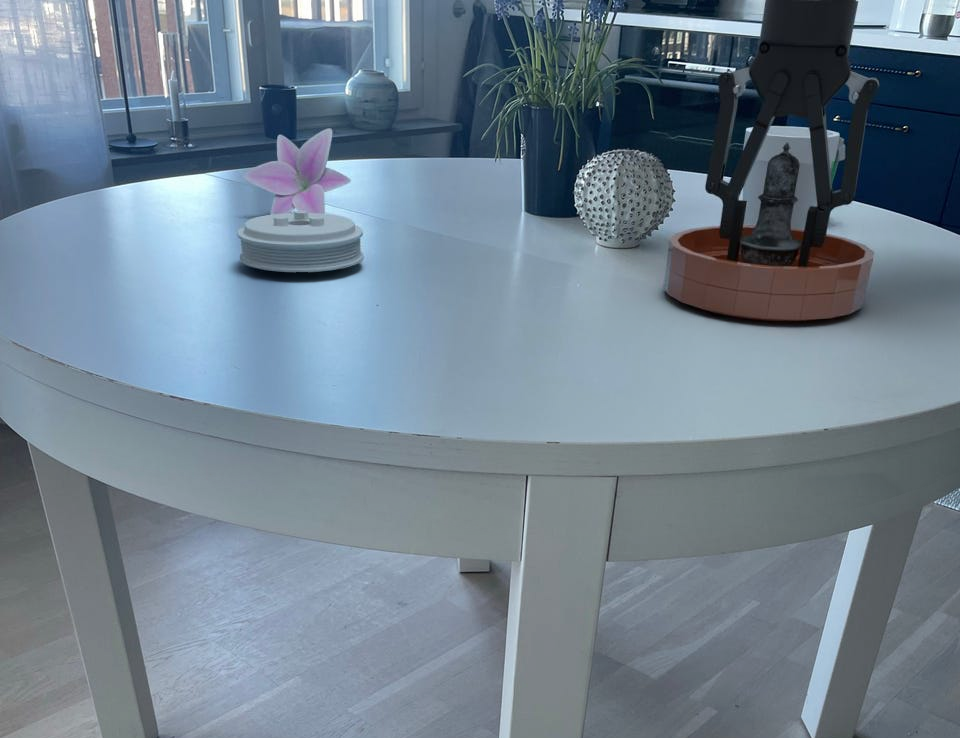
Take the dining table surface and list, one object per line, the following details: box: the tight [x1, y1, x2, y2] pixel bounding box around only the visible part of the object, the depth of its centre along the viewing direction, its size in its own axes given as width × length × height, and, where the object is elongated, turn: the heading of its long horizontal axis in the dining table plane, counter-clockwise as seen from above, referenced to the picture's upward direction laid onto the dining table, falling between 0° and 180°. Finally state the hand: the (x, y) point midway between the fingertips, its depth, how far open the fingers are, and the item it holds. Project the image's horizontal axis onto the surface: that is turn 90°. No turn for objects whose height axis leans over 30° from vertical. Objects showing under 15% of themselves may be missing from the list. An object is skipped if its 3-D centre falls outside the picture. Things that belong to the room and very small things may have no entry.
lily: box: [242, 127, 352, 215], centre depth 125 cm, size 12×12×10 cm
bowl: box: [663, 225, 875, 322], centre depth 97 cm, size 19×19×5 cm
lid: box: [236, 210, 365, 273], centre depth 104 cm, size 13×13×5 cm
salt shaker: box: [739, 143, 802, 267], centre depth 94 cm, size 6×6×12 cm
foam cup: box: [742, 125, 841, 230], centre depth 107 cm, size 10×9×13 cm
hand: (764, 278), depth 97 cm, fingers closed on salt shaker, 6 cm apart
